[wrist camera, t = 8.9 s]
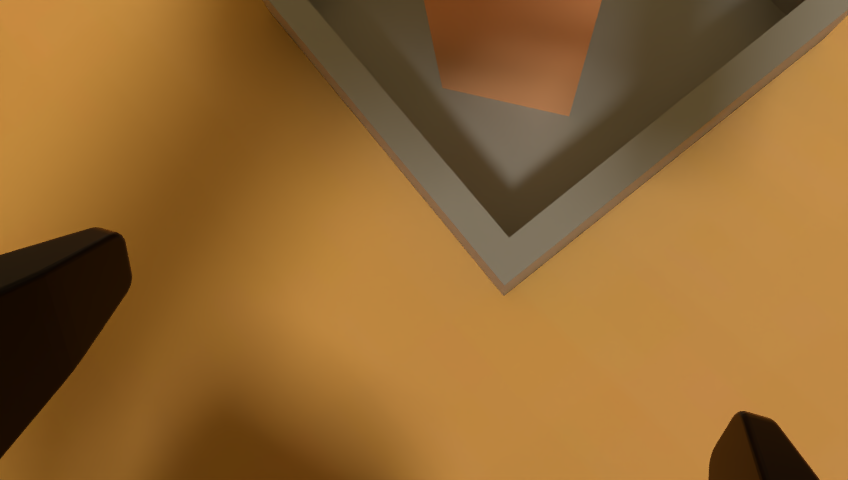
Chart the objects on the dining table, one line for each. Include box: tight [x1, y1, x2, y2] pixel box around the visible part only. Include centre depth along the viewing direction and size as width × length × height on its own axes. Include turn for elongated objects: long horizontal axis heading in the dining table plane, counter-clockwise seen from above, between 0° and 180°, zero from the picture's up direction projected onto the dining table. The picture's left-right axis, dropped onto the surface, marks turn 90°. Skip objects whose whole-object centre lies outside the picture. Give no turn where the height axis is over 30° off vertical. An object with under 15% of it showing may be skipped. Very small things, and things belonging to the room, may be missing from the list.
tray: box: [263, 0, 848, 295], centre depth 21 cm, size 14×14×3 cm
